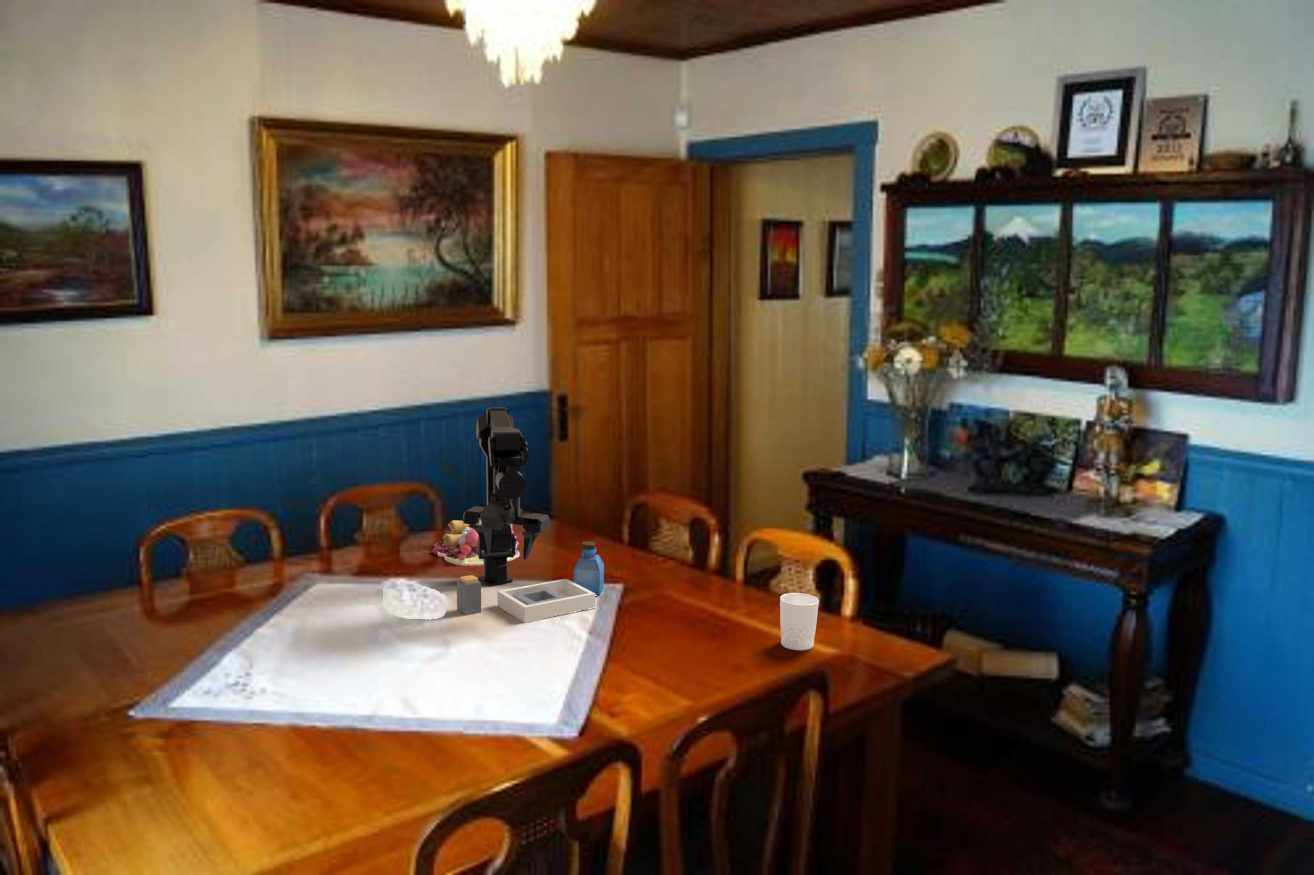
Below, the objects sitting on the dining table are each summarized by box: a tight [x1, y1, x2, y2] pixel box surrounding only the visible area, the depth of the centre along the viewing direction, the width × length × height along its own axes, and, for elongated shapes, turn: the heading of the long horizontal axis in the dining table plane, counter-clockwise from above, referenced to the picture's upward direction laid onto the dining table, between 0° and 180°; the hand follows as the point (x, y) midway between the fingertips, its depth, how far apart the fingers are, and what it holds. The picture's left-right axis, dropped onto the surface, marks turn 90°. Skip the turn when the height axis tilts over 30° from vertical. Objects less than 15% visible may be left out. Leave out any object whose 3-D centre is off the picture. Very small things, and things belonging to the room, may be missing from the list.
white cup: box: [779, 592, 820, 651], centre depth 218 cm, size 8×8×10 cm
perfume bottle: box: [573, 540, 605, 597], centre depth 249 cm, size 6×6×12 cm
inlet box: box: [496, 578, 596, 624], centre depth 238 cm, size 13×18×4 cm
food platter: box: [430, 519, 521, 567], centre depth 281 cm, size 25×24×9 cm
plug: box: [456, 574, 482, 617], centre depth 234 cm, size 4×4×8 cm
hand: (506, 556), depth 232 cm, fingers open, 9 cm apart
